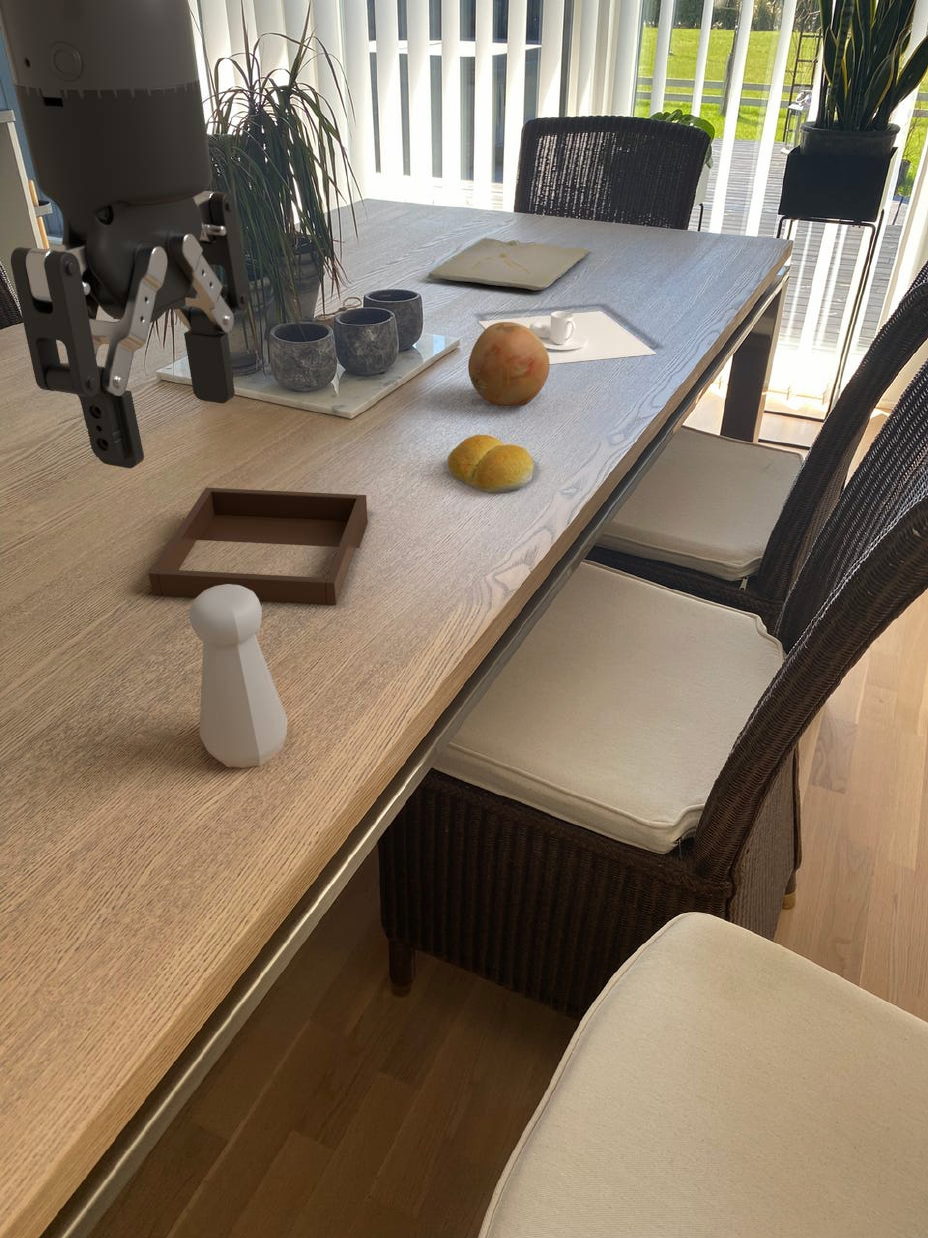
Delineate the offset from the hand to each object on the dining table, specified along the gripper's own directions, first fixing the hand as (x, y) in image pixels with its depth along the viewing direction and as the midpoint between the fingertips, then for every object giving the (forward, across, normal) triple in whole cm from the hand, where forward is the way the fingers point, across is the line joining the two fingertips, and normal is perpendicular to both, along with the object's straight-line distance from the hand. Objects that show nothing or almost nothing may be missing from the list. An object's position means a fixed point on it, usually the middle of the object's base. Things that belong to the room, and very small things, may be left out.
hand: (171, 429), depth 49 cm
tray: (+25, -25, -11) cm, 37 cm away
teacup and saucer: (+25, -95, -1) cm, 98 cm away
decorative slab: (+25, -126, -18) cm, 130 cm away
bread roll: (+25, -48, +3) cm, 54 cm away
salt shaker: (+25, -2, 0) cm, 25 cm away
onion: (+25, -68, -1) cm, 72 cm away
